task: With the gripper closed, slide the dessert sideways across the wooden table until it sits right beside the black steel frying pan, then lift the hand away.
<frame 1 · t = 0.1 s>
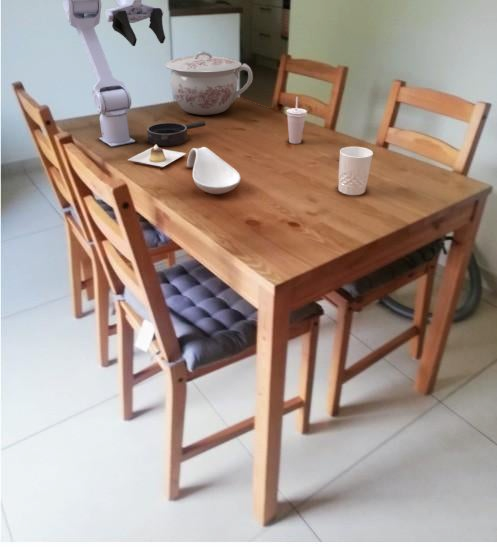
hand: (149, 41, 120), 32 cm above the table, tool tilted 50°, fingers open, 7 cm apart
chamber pot: (205, 111, 186), on the table
pan: (168, 140, 157), on the table
dessert: (157, 160, 142), on the table
spoon rest: (208, 182, 129), on the table
smoothie: (294, 142, 157), on the table
white cup: (351, 190, 125), on the table
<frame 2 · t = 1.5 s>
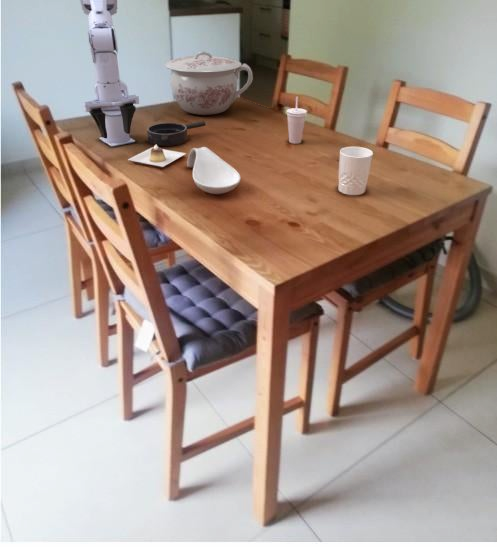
hand: (116, 135, 131), 9 cm above the table, tool pointing down, fingers open, 6 cm apart
nothing on the table moved.
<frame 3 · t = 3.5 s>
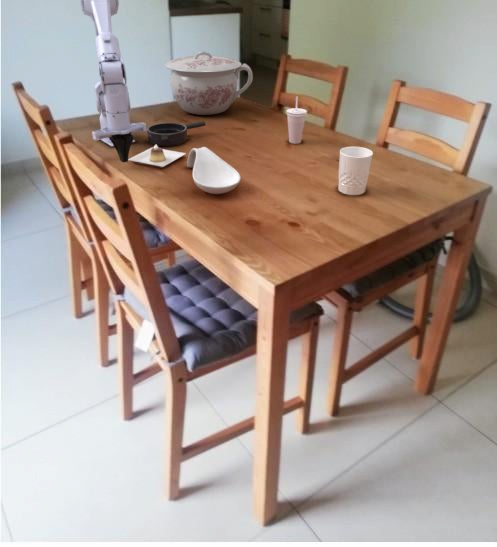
hand: (124, 161, 136), 2 cm above the table, tool pointing down, fingers closed
nothing on the table moved.
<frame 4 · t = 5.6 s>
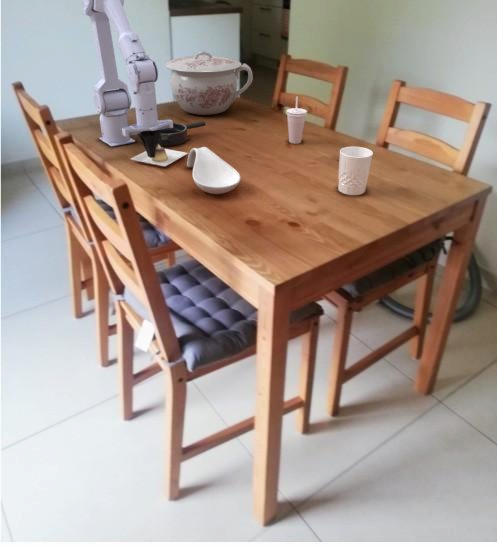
hand: (151, 156, 140), 1 cm above the table, tool pointing down, fingers closed
dessert: (160, 160, 142), on the table, touching gripper
everything else where it was.
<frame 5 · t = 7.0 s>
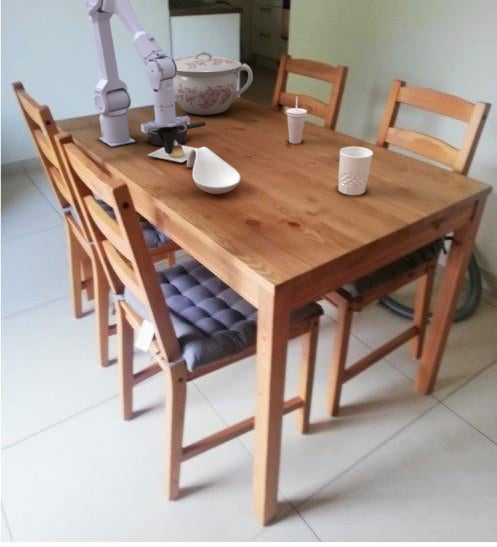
hand: (168, 152, 143), 1 cm above the table, tool pointing down, fingers closed
dessert: (176, 156, 145), on the table, touching gripper
everything else where it was.
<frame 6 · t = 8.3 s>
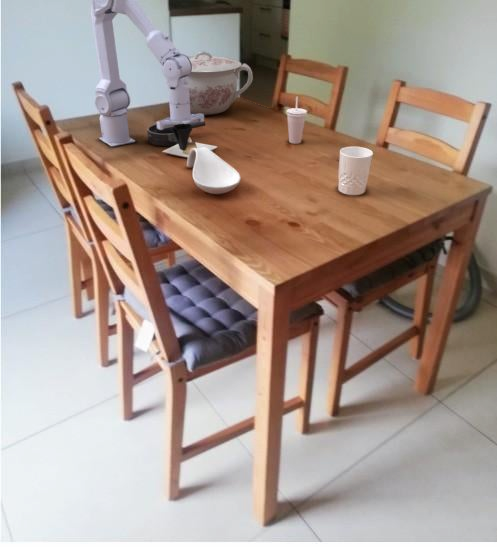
hand: (182, 149, 146), 1 cm above the table, tool pointing down, fingers closed
dessert: (190, 153, 148), on the table, touching gripper
everything else where it was.
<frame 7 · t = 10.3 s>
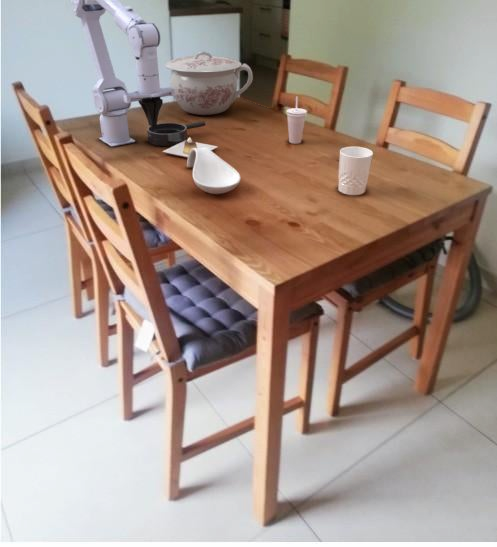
hand: (152, 125, 139), 9 cm above the table, tool pointing down, fingers closed
dessert: (190, 153, 148), on the table
everything else where it was.
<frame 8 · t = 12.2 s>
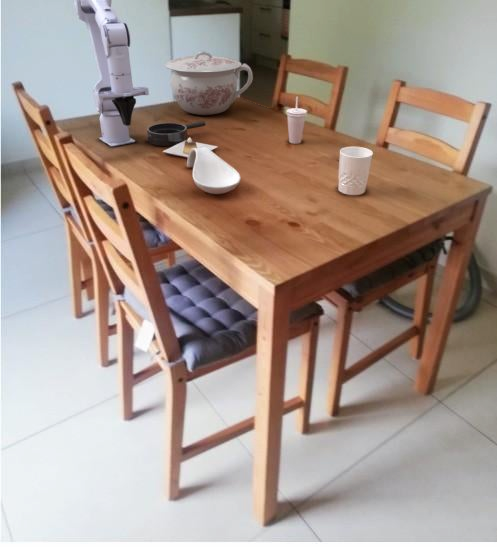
hand: (126, 124, 139), 9 cm above the table, tool pointing down, fingers closed
nothing on the table moved.
at the end: dessert inside the target area (1.3 cm from its centre), on the table; dessert 13.6 cm from the pan (horizontally); dessert tilted 0° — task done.
